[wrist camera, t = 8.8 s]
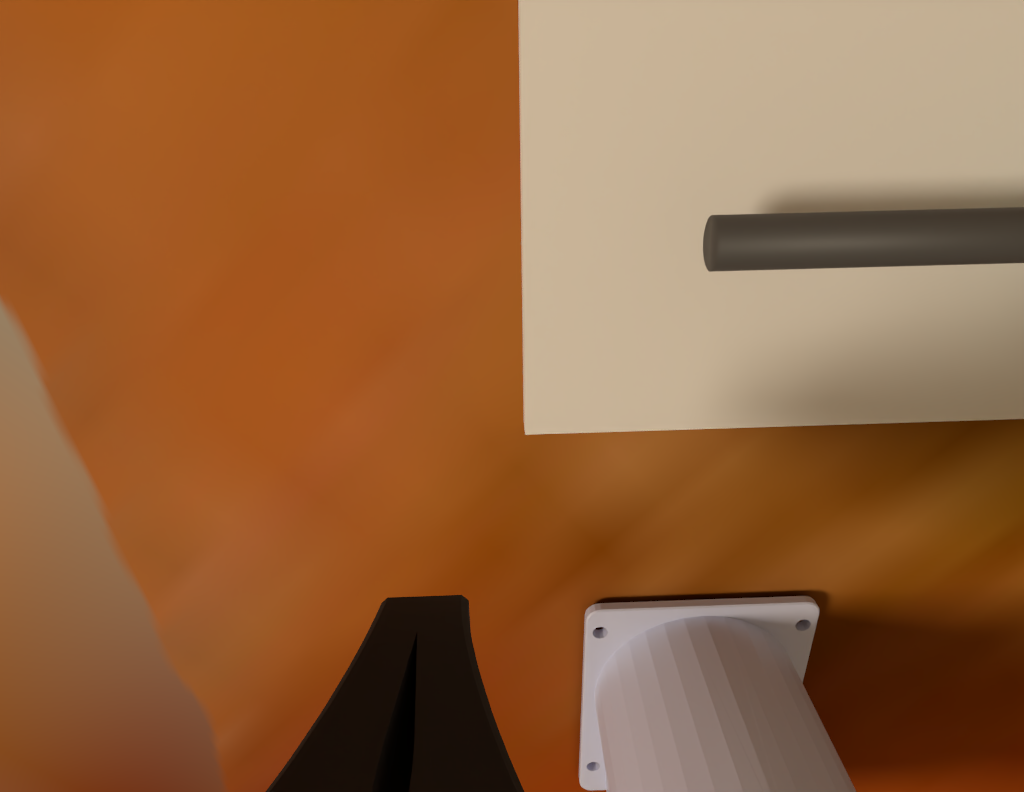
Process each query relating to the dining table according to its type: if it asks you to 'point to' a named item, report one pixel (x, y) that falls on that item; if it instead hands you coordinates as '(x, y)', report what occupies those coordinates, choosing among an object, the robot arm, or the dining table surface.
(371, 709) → the robot arm
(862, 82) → the rod stand
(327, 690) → the dining table surface
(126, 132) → the dining table surface
